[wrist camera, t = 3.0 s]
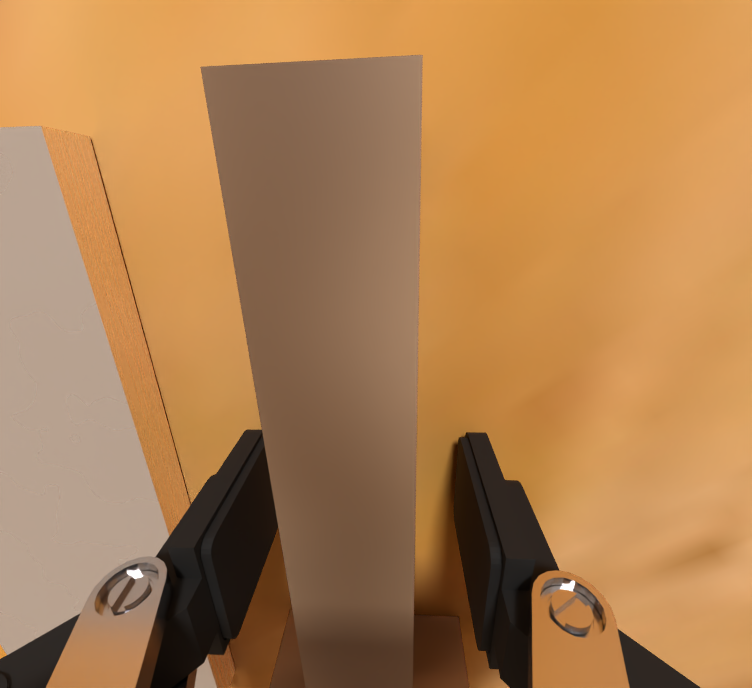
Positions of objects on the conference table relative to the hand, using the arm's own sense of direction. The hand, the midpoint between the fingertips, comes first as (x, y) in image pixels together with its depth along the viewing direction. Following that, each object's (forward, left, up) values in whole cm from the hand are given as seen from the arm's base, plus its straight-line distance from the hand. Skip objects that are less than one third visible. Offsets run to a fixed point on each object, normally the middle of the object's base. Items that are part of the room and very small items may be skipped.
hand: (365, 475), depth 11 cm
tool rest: (+10, +1, 0) cm, 10 cm away
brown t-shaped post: (0, 0, -1) cm, 1 cm away
